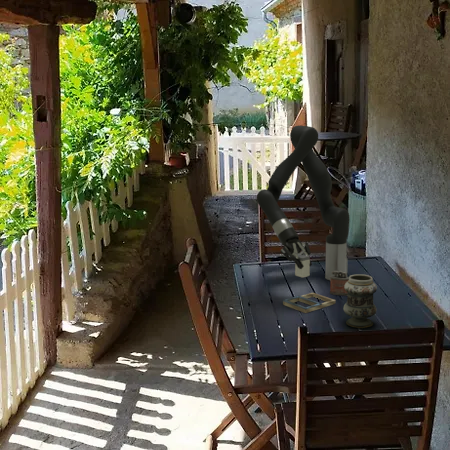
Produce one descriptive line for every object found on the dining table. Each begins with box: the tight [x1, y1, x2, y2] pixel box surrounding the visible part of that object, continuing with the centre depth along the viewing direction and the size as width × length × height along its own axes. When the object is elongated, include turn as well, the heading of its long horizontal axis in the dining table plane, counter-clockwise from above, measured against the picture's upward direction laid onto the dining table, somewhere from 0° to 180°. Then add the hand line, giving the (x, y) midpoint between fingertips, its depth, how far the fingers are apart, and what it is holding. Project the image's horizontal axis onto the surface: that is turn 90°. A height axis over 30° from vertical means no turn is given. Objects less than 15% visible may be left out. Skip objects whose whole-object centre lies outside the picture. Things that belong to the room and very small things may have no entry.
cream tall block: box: [294, 254, 311, 278], centre depth 251 cm, size 4×4×8 cm
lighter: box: [329, 271, 350, 296], centre depth 268 cm, size 8×3×10 cm, turn 71°
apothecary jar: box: [342, 273, 378, 329], centre depth 233 cm, size 12×12×18 cm
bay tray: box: [282, 292, 336, 314], centre depth 256 cm, size 17×13×2 cm
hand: (306, 266), depth 249 cm, fingers closed on cream tall block, 4 cm apart
